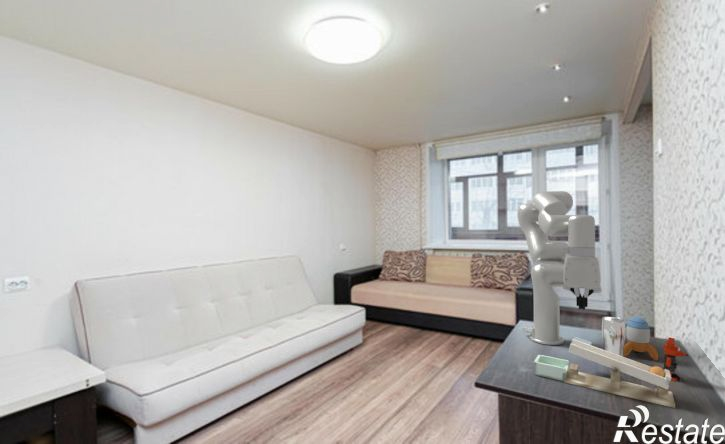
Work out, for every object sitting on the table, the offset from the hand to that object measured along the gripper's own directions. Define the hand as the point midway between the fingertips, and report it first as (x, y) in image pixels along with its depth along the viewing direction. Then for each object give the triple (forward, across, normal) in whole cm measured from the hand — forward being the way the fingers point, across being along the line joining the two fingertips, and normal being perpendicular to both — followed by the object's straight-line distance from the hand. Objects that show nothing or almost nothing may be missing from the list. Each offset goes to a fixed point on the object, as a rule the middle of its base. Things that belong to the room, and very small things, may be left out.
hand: (582, 308), depth 117 cm
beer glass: (+21, +8, +16) cm, 27 cm away
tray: (+21, -8, -7) cm, 23 cm away
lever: (+16, +8, -3) cm, 18 cm away
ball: (+14, +19, -7) cm, 24 cm away
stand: (+21, +9, -7) cm, 24 cm away
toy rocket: (+21, +16, +27) cm, 37 cm away
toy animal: (+21, +24, +11) cm, 33 cm away
